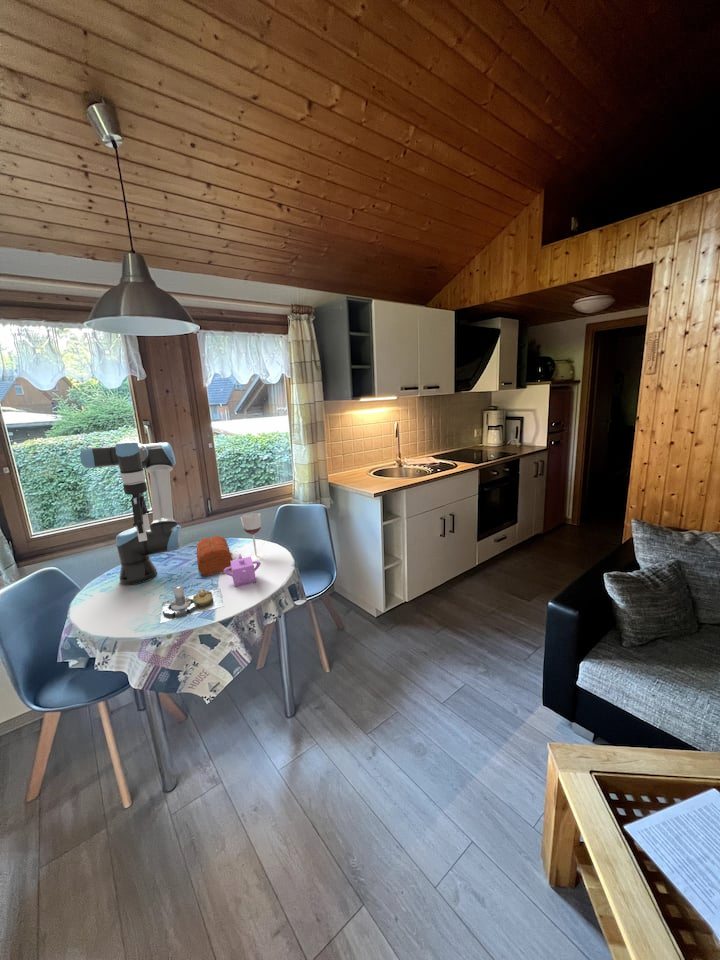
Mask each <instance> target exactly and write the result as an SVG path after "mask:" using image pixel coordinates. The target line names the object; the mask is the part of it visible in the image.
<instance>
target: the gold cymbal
mask: <svg viewBox="0 0 720 960" xmlns="http://www.w3.org/2000/svg"><path fill="white" fill-rule="evenodd" d="M209 591H210V590H208V591H206V590H205V589H200V590H198V593H196V595H195V594H194V595H195V596H194V597H193V601H194V603H195V604H197V605H198V606H205V605H208V604H210V603H211V602H212V601H213V596H212V593H211V592H209Z"/></svg>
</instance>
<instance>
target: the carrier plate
mask: <svg viewBox="0 0 720 960" xmlns="http://www.w3.org/2000/svg"><path fill="white" fill-rule="evenodd" d="M208 591H209V592H211V593H212V596H213V601H212V602H211V603H210V604H208V605H205V606H198V605H197V604H195V603H194V601H193V597H194V596H195V595H196V594H197V593H196V594H191V595H188V596H187V595H184V597H185V599H190V600H191V605H190V606H189V607H187V608H186V609H182V610H178V611H173V610H172V609H171V604H172V603H174V602H175V601H176V600H175V599H172V600H171V599H170V600H168V601H167V600H166V601H163V602H162V603H161V612H160V620H159V624H162V623H166V622H170V621H171V622H172V621H173V620H177V619H182V618H186V617H189V616H193V615H197V614H200V613H204V612H207V611H208V612H209V611H211V610H212V611H213V610H216V609H219V608H223V607H225V604H224V599H223V593H222V588H216V589H211V590H208Z"/></svg>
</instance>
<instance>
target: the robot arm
mask: <svg viewBox="0 0 720 960" xmlns="http://www.w3.org/2000/svg"><path fill="white" fill-rule="evenodd" d="M79 453H80V454H79V458H80V459H79V460H80V463H81V465H82V466H83V467H84V468H85V469H95V468H105V467H118V468H119V471H120V475H119V478H120V479H121V480H122V483H123V490H124V491H123V492H124V494H125V495H128V496H129V495H131V498H130V501H131V509H132V517H133V522H134V523H132V526H133V527H131V528H129V529H126V530H123V531H122V532H119V533H118V534H117V535H116V537H115V543H116V545H115V546H116V549H117V553H118V557H119V561H120V570H119V571H120V572H119V582H120V584H121V585H124V586H133V585H138V584H142V583H144V582H147V581H149V580H152V579H153V578H154V577H156V576H157V575H158V572H157V567H156V566H155V565H154V563H153V561H152V560H151V558H150V555H155V554H161V553H170V552H174V551H177V550H179V549H180V548H181V545H182V542H183V532H182V531H183V530H182V529H183V527H182V526H181V525H180V524H178V521H177V520H175V519H174V513H173V512H174V511H173V509H174V508H173V501H172V500H173V497H172V487H171V486H172V484H171V476H170V475H171V474H170V472H172V471H173V469H174V468H173V467H174V466H175V465H176V464H177V462H176V457H175V453H174V450H173V446H172V445H171V443H169V442H156V443H155V442H154V443H144V444H142V443H140V442H137V441H135V440H130V441H122V442H118V443H116V444H115V445H113V446H104V447H103V446H102V447H90V448H85V449H82V450H81V451H80V452H79ZM144 469H145V471H146V472H147V473H148V474H149V478H150V492H151V493H150V495H151V508H152V509H151V510H152V522H151V523H150V520H149V515H148V514H150V510H148V508H147V504H146V500H145V496H144V493H145V492H147V491H148V487H147V483H146V481H145V480H146V475H145V471H144Z"/></svg>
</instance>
